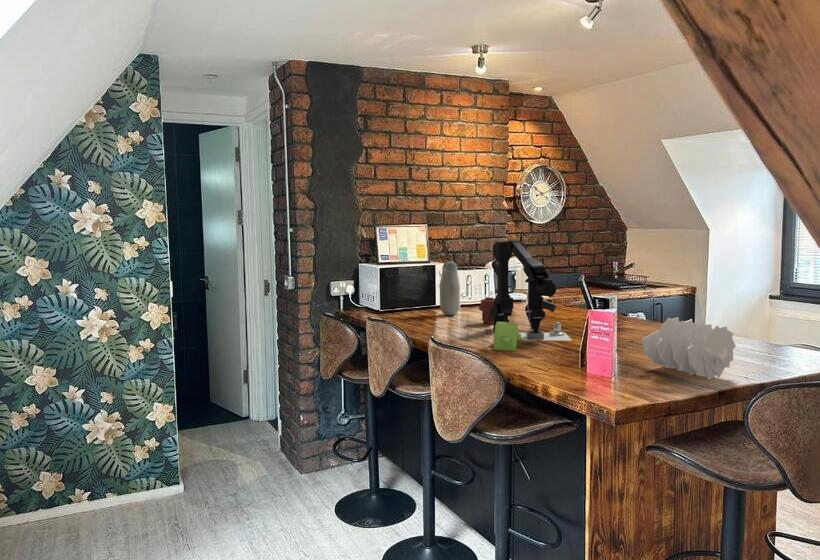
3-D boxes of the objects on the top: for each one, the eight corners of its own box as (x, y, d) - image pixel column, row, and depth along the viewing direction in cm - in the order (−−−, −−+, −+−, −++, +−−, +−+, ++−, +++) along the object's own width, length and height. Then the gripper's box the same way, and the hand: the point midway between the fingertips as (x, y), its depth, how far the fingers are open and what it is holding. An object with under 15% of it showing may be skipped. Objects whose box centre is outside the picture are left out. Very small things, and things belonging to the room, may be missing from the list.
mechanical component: (498, 321, 314) (501, 325, 304) (478, 321, 315) (479, 325, 305) (498, 296, 313) (501, 299, 303) (478, 296, 313) (479, 299, 303)
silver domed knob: (550, 335, 274) (550, 323, 273) (548, 333, 280) (548, 321, 280) (566, 335, 273) (566, 323, 273) (563, 333, 280) (563, 321, 279)
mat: (522, 341, 265) (522, 340, 265) (518, 334, 282) (518, 332, 282) (572, 341, 264) (572, 340, 264) (565, 334, 281) (565, 332, 280)
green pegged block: (519, 355, 243) (520, 330, 242) (492, 353, 245) (494, 328, 244) (521, 344, 261) (522, 321, 259) (496, 342, 262) (497, 319, 261)
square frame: (527, 339, 266) (527, 333, 266) (525, 336, 273) (525, 330, 273) (543, 339, 266) (543, 333, 266) (541, 336, 273) (541, 330, 272)
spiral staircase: (667, 375, 224) (732, 389, 202) (633, 359, 216) (697, 371, 194) (682, 326, 227) (748, 334, 204) (649, 308, 219) (714, 314, 197)
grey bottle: (436, 314, 338) (436, 261, 335) (454, 313, 342) (453, 260, 339) (445, 317, 329) (445, 262, 326) (463, 315, 333) (463, 261, 330)
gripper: (558, 296, 258) (557, 335, 260) (551, 291, 276) (551, 327, 278) (530, 297, 259) (529, 335, 260) (525, 291, 277) (524, 327, 279)
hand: (534, 331), depth 269 cm, fingers open, 9 cm apart
